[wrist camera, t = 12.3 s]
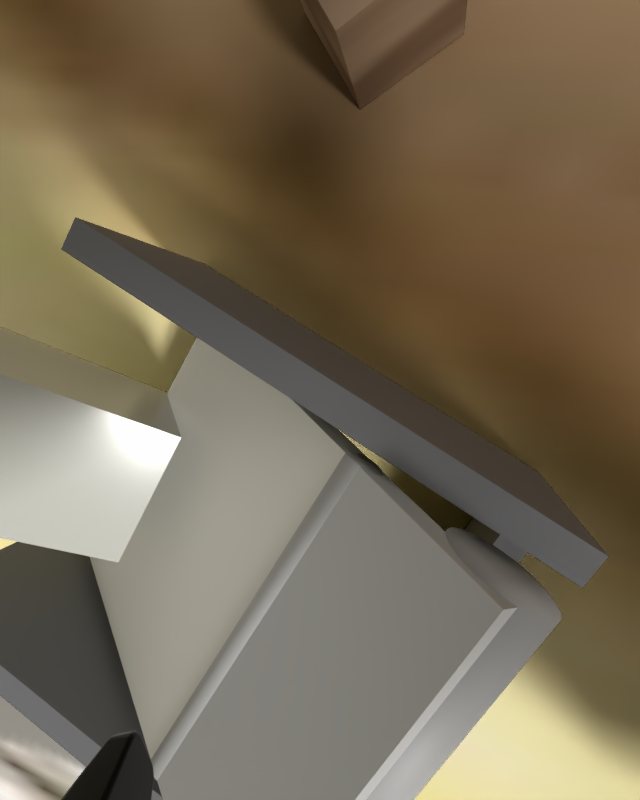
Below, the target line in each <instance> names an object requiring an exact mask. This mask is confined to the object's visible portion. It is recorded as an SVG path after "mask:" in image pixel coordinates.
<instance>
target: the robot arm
mask: <svg viewBox="0 0 640 800" xmlns="http://www.w3.org/2000/svg"><path fill="white" fill-rule="evenodd" d="M153 780H154V772H153V765H152V762H151V759H150V757H149V754H148V752H147V749H146V747H145V745H144V742H143V740H142V737H141V735H140V733H138V732H137V731H129V732H124V733H118V734H115V735H113V736H111V737H110V738H109V739H108V740H107V741H106V743H105V744H104V745H103V746H102V748H101V749H100V750H99V752H98V753H97V754H96V755H95V757H94V758H93V759H92V760H91V762H90V763H89V764H88V766H87V767H86V768H85V769H84V771H83V772H82V773H81V775H80V776H79V777H78V778H77V780H76V781H75V782H74V784H73V785H72V786H71V787H70V789H69V790H68V791H67V793H66V794H65V795H64V796H63V798H62V799H61V800H151V797H152V789H153Z"/></svg>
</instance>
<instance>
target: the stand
mask: <svg viewBox="0 0 640 800" xmlns="http://www.w3.org/2000/svg"><path fill="white" fill-rule="evenodd" d="M300 2H301V5H302V7H303V10H304V12H305V14H306V16H307V17H308V19H309V21H310V23H311V24H312V26H313V28H314V30H315V31H316V33H317V35H318V37H319V38H320V40H321V42H322V44H323V45H324V47H325V49H326V51H327V52H328V54H329V56H330V58H331V59H332V61H333V63H334V65H335V66H336V68H337V70H338V72H339V73H340V75H341V77H342V79H343V80H344V82H345V84H346V86H347V87H348V89H349V91H350V93H351V94H352V96H353V98H354V100H355V101H356V103H357V105H358V107H359V108H360V109H361V108H363V107H364V106H365V105H367V104H368V103H370V102H371V101H372V100H374V99H375V98H376V97H378V96H379V95H381V94H382V93H383V92H385V91H386V90H387V89H389V88H390V87H392V86H393V85H394V84H396V83H397V82H398V81H400V80H401V79H403V78H404V77H405V76H407V75H408V74H409V73H411V72H412V71H414V70H415V69H416V68H418V67H419V66H421V65H422V64H423V63H425V62H426V61H427V60H429V59H430V58H432V57H433V56H434V55H436V54H437V53H438V52H440V51H441V50H443V49H444V48H445V47H447V46H448V45H449V44H451V43H452V42H454V41H455V40H456V39H458V38H459V37H460V36H462V35H463V34H464V28H465V18H466V7H467V0H300Z"/></svg>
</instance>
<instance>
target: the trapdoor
mask: <svg viewBox="0 0 640 800" xmlns="http://www.w3.org/2000/svg"><path fill="white" fill-rule="evenodd" d="M167 396H168V399H169V402H170V405H171V408H172V411H173V414H174V417H175V420H176V423H177V426H178V429H179V432H180V435H181V439H180V441H179V443H178V445H177V447H176V449H175V451H174V453H173V455H172V457H171V459H170V461H169V463H168V465H167V467H166V469H165V471H164V473H163V475H162V477H161V479H160V481H159V483H158V485H157V487H156V489H155V491H154V493H153V495H152V497H151V499H150V501H149V503H148V505H147V507H146V509H145V511H144V513H143V515H142V517H141V519H140V521H139V523H138V525H137V527H136V528H135V530H134V532H133V534H132V536H131V538H130V540H129V542H128V544H127V546H126V548H125V550H124V552H123V554H122V556H121V558H120V560H119V562H114V561H109V560H104V559H99V558H94V557H90V556H89V557H90V560H91V563H92V567H93V570H94V573H95V577H96V580H97V583H98V587H99V590H100V593H101V597H102V600H103V603H104V606H105V610H106V613H107V616H108V620H109V623H110V626H111V630H112V633H113V636H114V640H115V643H116V646H117V650H118V653H119V656H120V659H121V663H122V666H123V669H124V673H125V676H126V679H127V683H128V686H129V689H130V693H131V696H132V699H133V703H134V706H135V709H136V712H137V716H138V719H139V722H140V726H141V729H142V732H143V736H144V739H145V742H146V746H147V749H148V752H149V756H150V759H151V762H152V765H153V772H154V778H155V779H156V780H157V782H158V785H159V789H160V792H161V795H162V799H163V800H414V799H415V798H416V797H417V795H418V794H419V793H420V792H421V790H422V789H423V788H424V787H425V786H426V784H427V783H428V782H429V781H430V779H431V778H432V777H433V776H434V775H435V773H436V772H437V771H438V770H439V769H440V767H441V766H442V765H443V764H444V762H445V761H446V760H447V759H448V758H449V756H450V755H451V754H452V753H453V751H454V750H455V749H456V748H457V747H458V745H459V744H460V743H461V742H462V740H463V739H464V738H465V737H466V736H467V734H468V733H469V732H470V731H471V729H472V728H473V727H474V726H475V725H476V723H477V722H478V721H479V720H480V718H481V717H482V716H483V715H484V714H485V712H486V711H487V710H488V709H489V707H490V706H491V705H492V704H493V703H494V701H495V700H496V699H497V698H498V697H499V695H500V694H501V693H502V692H503V690H504V689H505V688H506V687H507V686H508V684H509V683H510V682H511V681H512V679H513V678H514V677H515V676H516V675H517V673H518V672H519V671H520V670H521V668H522V667H523V666H524V665H525V664H526V662H527V661H528V660H529V659H530V657H531V656H532V655H533V654H534V653H535V651H536V650H537V649H538V648H539V646H540V645H541V644H542V643H543V642H544V640H545V639H546V638H547V637H548V635H549V634H550V633H551V632H552V631H553V629H554V628H555V627H556V626H557V625H558V623H559V622H560V621H561V618H562V615H561V612H560V609H559V607H558V606H557V604H556V602H555V601H554V599H553V598H552V597H551V596H550V594H549V593H548V592H547V591H546V590H545V588H544V587H543V586H542V585H541V584H540V583H539V582H538V581H537V580H536V579H535V578H534V577H533V576H532V575H531V574H530V573H529V572H528V571H526V570H525V569H524V568H523V567H522V566H521V565H520V564H518V563H517V562H516V561H515V560H513V559H512V558H511V557H509V556H508V555H507V554H505V553H504V552H503V551H501V550H500V549H498V548H497V547H495V546H494V545H492V544H491V543H489V542H488V541H486V540H484V539H483V538H481V537H479V536H477V535H475V534H473V533H471V532H469V531H466V530H464V529H460V528H455V527H451V528H448V529H447V530H446V531H444V530H443V529H442V528H441V527H440V526H439V525H438V524H437V523H435V522H434V521H433V520H432V519H431V518H430V517H429V516H428V515H427V514H426V513H425V512H424V511H423V510H422V509H421V508H420V507H419V506H418V505H417V504H416V503H415V502H413V501H412V500H411V499H410V498H409V497H408V496H407V495H406V494H405V493H404V492H403V491H402V490H401V489H400V488H399V487H398V486H397V485H396V484H395V483H394V482H393V481H391V480H390V479H389V478H388V477H387V476H386V475H385V474H384V473H383V472H382V470H381V469H380V468H379V467H378V466H377V465H376V464H375V463H374V462H373V461H371V460H370V459H369V458H367V457H366V456H365V455H364V454H363V453H362V452H361V451H360V450H359V449H358V448H357V447H356V446H355V445H354V444H353V443H352V442H351V441H350V440H349V439H347V438H346V437H345V436H344V435H343V434H342V433H341V432H340V431H339V430H338V429H337V428H335V427H334V426H332V425H331V424H329V423H328V422H326V421H325V420H323V419H321V418H320V417H318V416H317V415H315V414H314V413H312V412H311V411H309V410H308V409H306V408H305V407H303V406H302V405H300V404H298V403H297V402H295V401H294V400H292V399H291V398H289V397H288V396H286V395H285V394H283V393H282V392H280V391H278V390H277V389H275V388H274V387H272V386H271V385H269V384H268V383H266V382H265V381H263V380H262V379H260V378H258V377H257V376H255V375H254V374H252V373H251V372H249V371H248V370H246V369H245V368H243V367H242V366H240V365H238V364H237V363H235V362H234V361H232V360H231V359H229V358H228V357H226V356H225V355H223V354H222V353H220V352H219V351H217V350H215V349H214V348H212V347H211V346H209V345H208V344H206V343H205V342H203V341H202V340H200V339H199V338H196V339H195V341H194V343H193V345H192V347H191V349H190V351H189V353H188V355H187V357H186V358H185V360H184V362H183V364H182V366H181V368H180V370H179V372H178V374H177V376H176V378H175V379H174V381H173V383H172V385H171V387H170V389H169V391H168V393H167Z"/></svg>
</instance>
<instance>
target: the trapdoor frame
mask: <svg viewBox="0 0 640 800" xmlns="http://www.w3.org/2000/svg"><path fill="white" fill-rule="evenodd" d="M62 250H63V251H65V252H66V253H68V254H69V255H71V256H72V257H74V258H76V259H77V260H79V261H80V262H82V263H83V264H85V265H86V266H88V267H89V268H91V269H92V270H94V271H96V272H97V273H99V274H100V275H102V276H103V277H105V278H106V279H108V280H109V281H111V282H112V283H114V284H116V285H117V286H119V287H120V288H122V289H123V290H125V291H126V292H128V293H129V294H131V295H132V296H134V297H136V298H137V299H139V300H140V301H142V302H143V303H145V304H146V305H148V306H149V307H151V308H152V309H154V310H155V311H157V312H159V313H160V314H162V315H163V316H165V317H166V318H168V319H169V320H171V321H172V322H174V323H175V324H177V325H179V326H180V327H182V328H183V329H185V330H186V331H188V332H189V333H191V334H192V335H194V336H195V337H197V338H199V339H200V340H202V341H203V342H205V343H206V344H208V345H209V346H211V347H212V348H214V349H215V350H217V351H219V352H220V353H222V354H223V355H225V356H226V357H228V358H229V359H231V360H232V361H234V362H235V363H237V364H238V365H240V366H242V367H243V368H245V369H246V370H248V371H249V372H251V373H252V374H254V375H255V376H257V377H258V378H260V379H262V380H263V381H265V382H266V383H268V384H269V385H271V386H272V387H274V388H275V389H277V390H278V391H280V392H282V393H283V394H285V395H286V396H288V397H289V398H291V399H292V400H294V401H295V402H297V403H298V404H300V405H302V406H303V407H305V408H306V409H308V410H309V411H311V412H312V413H314V414H315V415H317V416H318V417H320V418H321V419H323V420H325V421H326V422H328V423H329V424H331V425H332V426H334V427H335V428H337V429H338V430H340V431H341V432H343V433H345V434H346V435H348V436H349V437H351V438H352V439H354V440H355V441H357V442H358V443H360V444H361V445H363V446H365V447H366V448H368V449H369V450H371V451H372V452H374V453H375V454H377V455H378V456H380V457H381V458H383V459H385V460H386V461H388V462H389V463H391V464H392V465H394V466H395V467H397V468H398V469H400V470H401V471H403V472H405V473H406V474H408V475H409V476H411V477H412V478H414V479H415V480H417V481H418V482H420V483H421V484H423V485H424V486H426V487H428V488H429V489H431V490H432V491H434V492H435V493H437V494H438V495H440V496H441V497H443V498H444V499H446V500H448V501H449V502H451V503H452V504H454V505H455V506H457V507H458V508H460V509H461V510H463V511H464V512H466V513H468V514H469V515H471V516H472V517H473V518H472V520H471V521H470V522H469V524H468V525H467V527H466V528H465V529H464V530H466V531H469V532H471V533H473V534H475V535H477V536H479V537H481V538H483V539H484V540H486V541H488V542H489V543H491V544H492V545H494V546H495V547H497V548H498V549H500V550H501V551H503V552H504V553H505V554H507V555H508V556H509V557H511V558H512V559H513V560H515V561H516V562H517V563H518V564H519V563H520V561H521V560H522V559H523V557H524V556H525V555H526V553H529V554H531V555H532V556H534V557H535V558H537V559H538V560H540V561H541V562H543V563H544V564H546V565H547V566H549V567H551V568H552V569H554V570H555V571H557V572H558V573H560V574H561V575H563V576H564V577H566V578H567V579H569V580H571V581H572V582H574V583H575V584H577V585H578V586H580V587H581V588H583V587H584V586H585V585H586V583H587V582H588V581H589V580H590V578H591V577H592V576H593V575H594V574H595V572H596V571H597V570H598V569H599V567H600V566H601V565H602V564H603V562H604V561H605V560H606V559H607V558H608V555H607V554H606V553H605V552H604V550H603V549H602V548H601V547H600V546H599V544H598V543H597V542H596V541H595V540H594V538H593V537H592V536H591V535H590V534H589V532H588V531H587V530H586V529H585V528H584V526H583V525H582V524H581V523H580V522H579V520H578V519H577V518H576V517H575V516H574V514H573V513H572V512H571V511H570V510H569V508H568V507H567V506H566V505H565V503H564V502H563V501H562V500H561V499H560V497H559V496H558V495H557V494H556V493H555V491H554V490H553V489H552V488H551V487H550V485H549V484H548V483H547V482H546V481H545V479H544V478H543V477H542V476H541V475H540V473H539V472H537V471H536V470H534V469H532V468H531V467H529V466H528V465H526V464H524V463H523V462H521V461H520V460H518V459H516V458H515V457H513V456H512V455H510V454H508V453H507V452H505V451H504V450H502V449H500V448H499V447H497V446H496V445H494V444H492V443H491V442H489V441H488V440H486V439H484V438H483V437H481V436H480V435H478V434H476V433H475V432H473V431H472V430H470V429H468V428H467V427H465V426H464V425H462V424H460V423H459V422H457V421H456V420H454V419H452V418H451V417H449V416H447V415H446V414H444V413H443V412H441V411H439V410H438V409H436V408H435V407H433V406H431V405H430V404H428V403H427V402H425V401H423V400H422V399H420V398H419V397H417V396H415V395H414V394H412V393H411V392H409V391H407V390H406V389H404V388H403V387H401V386H399V385H398V384H396V383H395V382H393V381H391V380H390V379H388V378H387V377H385V376H383V375H382V374H380V373H379V372H377V371H375V370H374V369H372V368H371V367H369V366H367V365H366V364H364V363H363V362H361V361H359V360H358V359H356V358H355V357H353V356H351V355H350V354H348V353H347V352H345V351H343V350H342V349H340V348H338V347H337V346H335V345H334V344H332V343H330V342H329V341H327V340H326V339H324V338H322V337H321V336H319V335H318V334H316V333H314V332H313V331H311V330H310V329H308V328H306V327H305V326H303V325H302V324H300V323H298V322H297V321H295V320H294V319H292V318H290V317H289V316H287V315H286V314H284V313H282V312H281V311H279V310H278V309H276V308H274V307H273V306H271V305H270V304H268V303H266V302H265V301H263V300H262V299H260V298H258V297H257V296H255V295H254V294H252V293H250V292H249V291H247V290H246V289H244V288H242V287H241V286H239V285H238V284H236V283H234V282H233V281H231V280H229V279H228V278H226V277H225V276H223V275H221V274H220V273H218V272H217V271H215V270H213V269H212V268H210V267H209V266H207V265H205V264H204V263H201V262H198V261H195V260H193V259H190V258H187V257H184V256H181V255H179V254H176V253H173V252H170V251H168V250H165V249H162V248H159V247H156V246H154V245H151V244H148V243H145V242H143V241H140V240H137V239H134V238H131V237H129V236H126V235H123V234H120V233H118V232H115V231H112V230H109V229H106V228H104V227H101V226H98V225H95V224H93V223H90V222H87V221H84V220H81V219H79V218H76V217H75V219H74V222H73V224H72V226H71V228H70V231H69V233H68V235H67V238H66V240H65V242H64V244H63V247H62ZM0 696H1V697H2V698H4V699H5V700H6V701H7V702H8V703H10V704H11V705H12V706H13V707H14V708H16V709H17V710H18V711H19V712H21V713H22V714H23V715H24V716H26V717H27V718H28V719H29V720H30V721H31V722H33V723H34V724H35V725H36V726H37V727H39V728H40V729H41V730H42V731H43V732H45V733H46V734H47V735H48V736H49V737H51V738H52V739H53V740H54V741H56V742H57V743H58V744H59V745H60V746H62V747H63V748H64V749H65V750H66V751H68V752H69V753H70V754H71V755H72V756H74V757H75V758H76V759H77V760H78V761H80V762H81V763H82V764H83V765H84V766H86V767H87V766H88V764H89V763H90V762H91V760H92V759H93V758H94V757H95V755H96V754H97V753H98V752H99V750H100V749H101V748H102V746H103V745H104V744H105V743H106V741H107V740H108V739H109V738H110V737H111V736H113V735H115V734H118V733H124V732H129V731H137V732H138V733H140V735H141V737H142V740H143V742H144V745H145V747H146V749H147V746H146V742H145V739H144V736H143V732H142V729H141V726H140V722H139V719H138V716H137V712H136V709H135V706H134V703H133V699H132V696H131V693H130V689H129V686H128V683H127V679H126V676H125V673H124V669H123V666H122V663H121V659H120V656H119V653H118V650H117V646H116V643H115V640H114V636H113V633H112V630H111V626H110V623H109V620H108V616H107V613H106V610H105V606H104V603H103V600H102V597H101V593H100V590H99V587H98V583H97V580H96V577H95V573H94V570H93V567H92V563H91V560H90V557H89V556H85V555H80V554H75V553H70V552H65V551H61V550H56V549H51V548H46V547H41V546H36V545H31V544H27V543H22V542H16V543H14V544H12V545H10V546H8V547H5V548H3V549H1V550H0ZM147 752H148V749H147ZM148 754H149V752H148ZM149 757H150V756H149ZM151 800H163V799H162V795H161V792H160V789H159V785H158V782H157V780H156V779H155V778H154V780H153V789H152V797H151Z"/></svg>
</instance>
